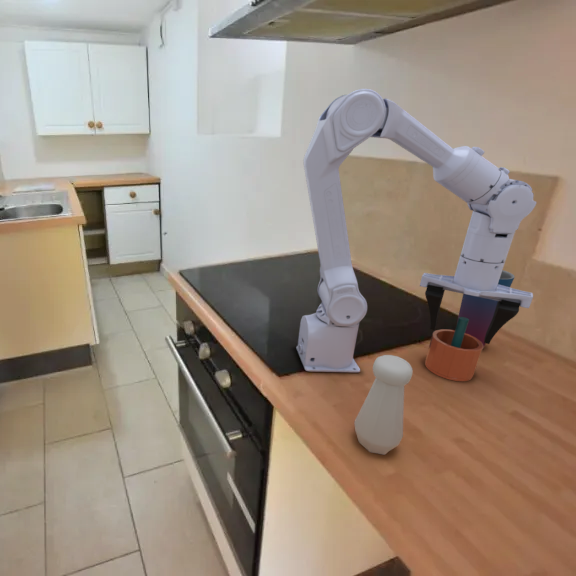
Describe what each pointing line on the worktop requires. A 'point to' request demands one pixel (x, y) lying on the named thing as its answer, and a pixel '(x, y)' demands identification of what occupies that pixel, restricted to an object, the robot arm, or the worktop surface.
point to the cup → (481, 310)
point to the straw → (459, 332)
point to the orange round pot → (453, 356)
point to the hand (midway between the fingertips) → (458, 334)
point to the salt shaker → (384, 406)
